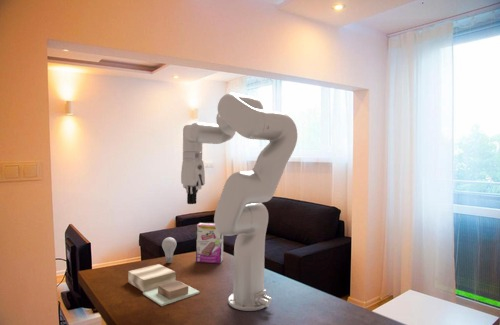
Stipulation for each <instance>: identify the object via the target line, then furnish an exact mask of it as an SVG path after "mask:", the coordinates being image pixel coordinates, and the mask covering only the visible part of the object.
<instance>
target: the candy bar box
mask: <svg viewBox="0 0 500 325" xmlns="http://www.w3.org/2000/svg"><path fill="white" fill-rule="evenodd" d="M195 242H196V244H195V245H196V246H195V247H196V249H195V252H196V253H195V263H201V264H202V263H203V264H206V263H207V264H222V262H223V261H224V235H221V234H220V233H219V232H218V231H217V230H216V228H215V224H214V222H213V223H210V222H209V223H208V222H198V223H197V224H196V241H195Z"/></svg>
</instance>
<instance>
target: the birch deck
mask: <svg viewBox="0 0 500 325" xmlns="http://www.w3.org/2000/svg"><path fill="white" fill-rule="evenodd" d="M127 275H128V276H127V278H128V279H127V281H128V283H129V284H130V285H132V286H133V287H135V288H137V289H138V290H140V291H141V292H142V293H143V292H145V291H149V290H152V289H156V288H158V285H162V284H165V283H169V282H172V281H176V276H177V273H176V271H175V270H172V269H170V268H168V267H166V266H164V265H162V264H160V263H157V264H153V265H148V266H145V267H140V268H135V269H132V270H128V272H127Z"/></svg>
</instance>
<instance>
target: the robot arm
mask: <svg viewBox="0 0 500 325" xmlns="http://www.w3.org/2000/svg"><path fill="white" fill-rule="evenodd" d="M217 103H218V104H217V114H216V117H215V120H216V123H208V122H207V123H206V122H193V123H191V124H185V125H184V126H183V128H182V164H181V172H180V173H181V174H180V179H181V180H180V182H181V184H182V187H183V189H185V190H186V192H185V193H186V194H187V195H186V196H187V200H186V204H188V205H194V204H195V205H196V204H197V196H198V195H197V194H198V193H199V190H202V187H203V186H205V184H206V180H205V179H206V177H205V176H206V174H205V164H204V160H203V144H210V145H211V144H212V145H219V144H222V143H226V142H227V141H230V140H231V139H233V138H234V137H235V135H236V133H237V134H238V135H240V136H241V137H243V138H246V139H250V140H259V141H261V140H263V141H269V143H268V144H267V145H266V146H265V147H264V148H263V149H262V150H261V151H260V153H259V154H258V156H257V158H256V161H255V164H254V166H253V167H252V169H250V170H245V171H244V170H243V171H242V170H241V171H236V172H233V173H232V174H231V175H229V177H228V178H227V179H226V180H225V183H224V186H223V189H222V191H221V194H220V197H219V200H218V202H217V206H216V209H215V211H214V215H213V216H214V217H213V221H214V222H213V224H215V228H216V230H217V231H218V232H219V233H220V234H221V235H223V237H224V236H225V237H226V236H227V237H230V236H235V235H236V238H235V242H234V246H233V248H234V250H233V292H232V293H231V294H230V295H229V296H228V302H227V303H228V305H229V306H230V307H231V308H234V309H236V310H240V311H242V312H243V311H244V312H245V311H246V312H254V311H255V312H256V311H260V310H262V309H264V308H269V307H270V305H271V303H272V301H273V297H270V296H268V295H267V289H265V253H266V252H265V251H266V249H265V248H266V235H267V234H266V233H267V230H268V229H267V228H268V224H269V211H268V209H267V207H266V205H265V204H263V203H267V202H269V201H270V200H272V198H273V197H274V195H275V193H276V191H277V188H278V185H279V183H280V182H281V179H282V176H283V174H284V171H285V168H286V167H287V164H288V162H289V160H290V158H291V156H292V154H293V152H294V150H295V149H296V145H297V141H298V129H297V125H296V123H295V121H294V120H293V118H291V117H290V116H289V115H288V114H285V113H282V112H279V111H275V110H266V109H264V107H263V105H262V103H261V101H260V100H259V99H258V98H256V97H254V96H250V95H244V94H240V93H237V92H236V93H235V92H230V93H225V94H224V95H223V96H222V97H221V98H220V99H219V101H218V102H217Z"/></svg>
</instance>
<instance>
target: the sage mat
mask: <svg viewBox="0 0 500 325" xmlns="http://www.w3.org/2000/svg"><path fill="white" fill-rule="evenodd" d="M178 281H179V280H178ZM179 282H181V283H183V282H182V281H179ZM183 284H185V283H183ZM185 285H187V286H188V294H185V295H182V296H179V297H176V298H173V299H170V300H169V299H167V298H165V297H164V296H162V295H161V294H159V293H158V288H156V289H152V290H149V291H145V292H143V291H142V295H143V296H145V297H147V298H148V299H150V300H151V301H153V302H154V303H156V304H157V305H159V306H161V307H163V306H165V305H169V304H173V303H175V302H178V301H180V300H184V299H187V298H189V297H193V296H195V295H198V294H200V293H201V292H200V290H197V289H196V288H193V287H191V286H190V285H188V284H185Z"/></svg>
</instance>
